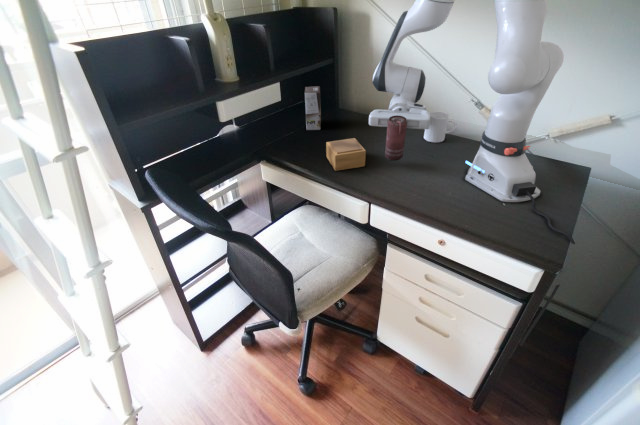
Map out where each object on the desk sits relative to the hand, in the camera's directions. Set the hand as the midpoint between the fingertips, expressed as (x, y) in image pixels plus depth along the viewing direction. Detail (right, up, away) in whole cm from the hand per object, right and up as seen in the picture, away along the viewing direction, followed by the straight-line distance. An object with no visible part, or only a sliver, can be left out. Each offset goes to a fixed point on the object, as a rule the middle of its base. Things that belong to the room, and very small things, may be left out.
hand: (397, 128), depth 105 cm
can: (+1, -8, +8) cm, 11 cm away
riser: (-16, -9, +13) cm, 22 cm away
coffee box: (-28, +11, +40) cm, 50 cm away
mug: (+23, +2, +25) cm, 34 cm away
